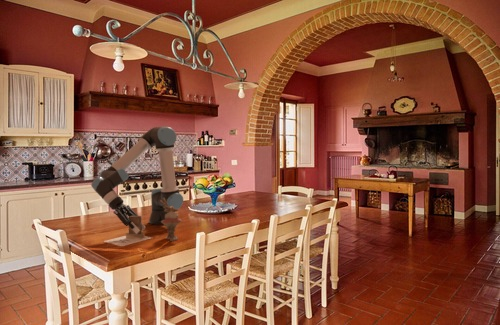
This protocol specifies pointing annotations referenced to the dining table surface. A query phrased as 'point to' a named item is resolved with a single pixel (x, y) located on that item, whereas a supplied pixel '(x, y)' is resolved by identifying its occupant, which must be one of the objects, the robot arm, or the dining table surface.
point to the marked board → (125, 240)
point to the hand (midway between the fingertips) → (141, 230)
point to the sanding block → (138, 222)
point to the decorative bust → (170, 220)
